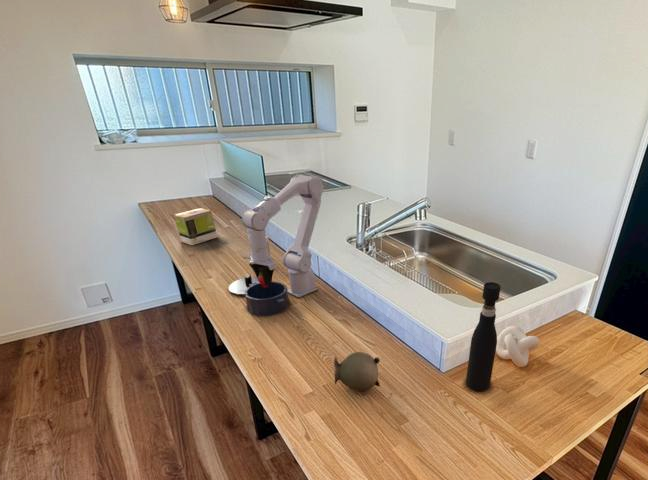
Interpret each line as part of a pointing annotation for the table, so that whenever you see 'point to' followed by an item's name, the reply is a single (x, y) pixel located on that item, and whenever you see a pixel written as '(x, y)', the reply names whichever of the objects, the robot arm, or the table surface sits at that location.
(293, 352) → the table surface
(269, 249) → the sprinkles bottle
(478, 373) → the black bottle
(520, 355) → the white decorative knot
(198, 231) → the tea box
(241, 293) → the lid
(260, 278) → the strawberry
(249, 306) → the pot
